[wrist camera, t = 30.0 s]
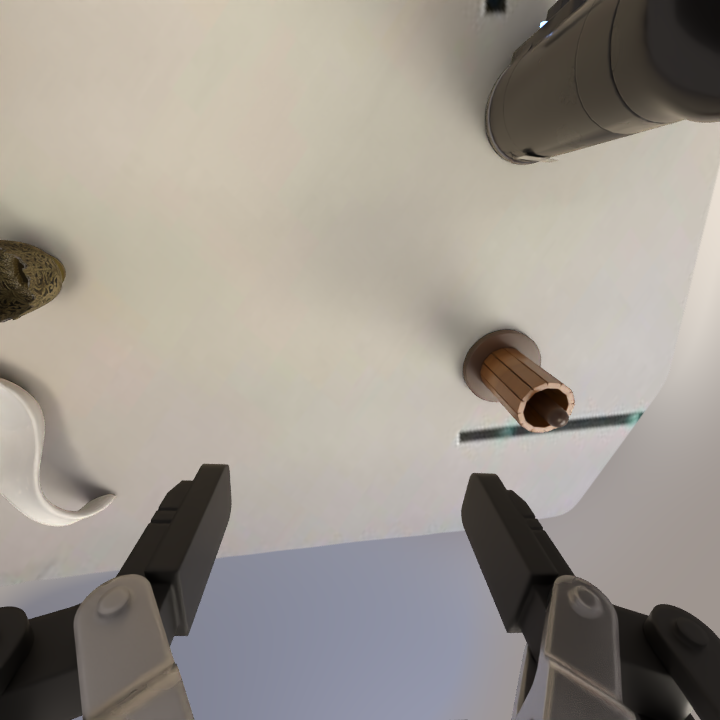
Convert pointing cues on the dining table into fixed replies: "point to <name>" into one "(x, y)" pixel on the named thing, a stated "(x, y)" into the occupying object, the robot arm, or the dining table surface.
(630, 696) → the robot arm
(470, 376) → the peg stand
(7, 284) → the cup
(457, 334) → the dining table surface
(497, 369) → the wooden stave pot
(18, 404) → the spoon rest
